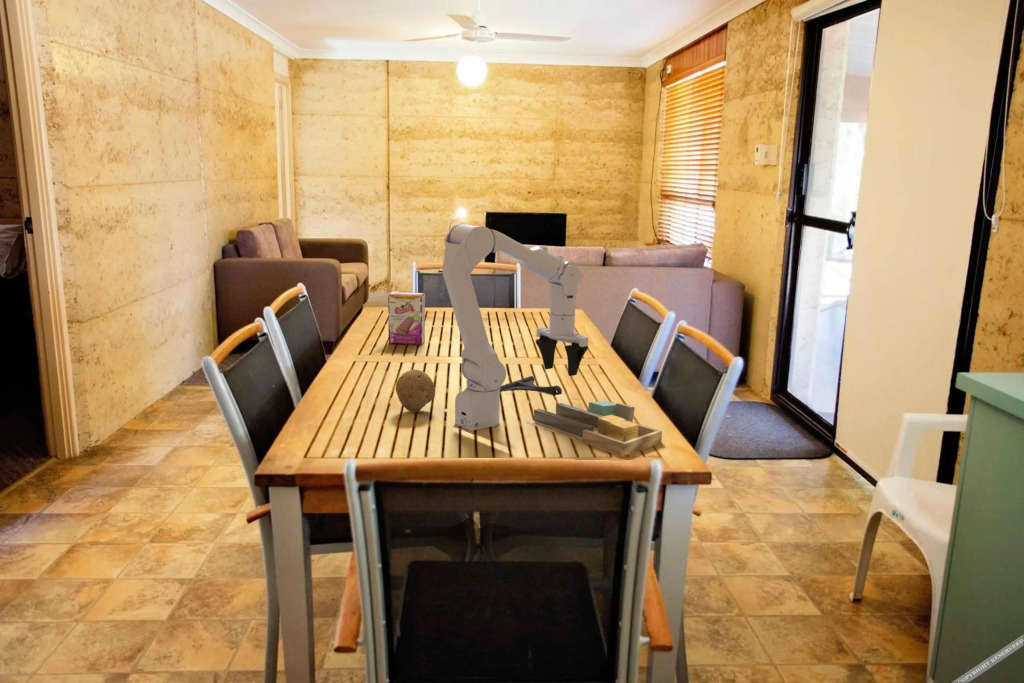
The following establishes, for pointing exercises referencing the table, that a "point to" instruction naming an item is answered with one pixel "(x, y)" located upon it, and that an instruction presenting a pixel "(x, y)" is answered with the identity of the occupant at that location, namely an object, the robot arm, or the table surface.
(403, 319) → the candy bar box
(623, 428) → the yellow cube
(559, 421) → the slot board
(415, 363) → the table surface
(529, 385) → the bracket
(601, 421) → the golden brown cube
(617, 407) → the two-tone l-shaped block
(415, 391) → the natural sponge
